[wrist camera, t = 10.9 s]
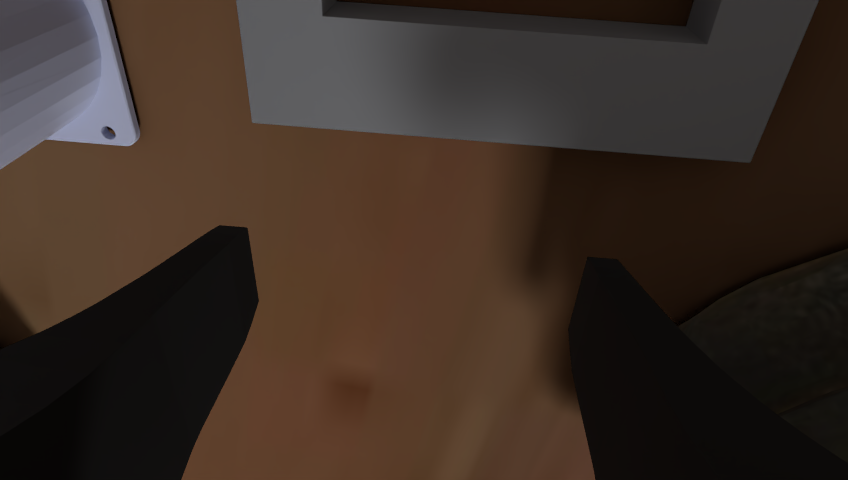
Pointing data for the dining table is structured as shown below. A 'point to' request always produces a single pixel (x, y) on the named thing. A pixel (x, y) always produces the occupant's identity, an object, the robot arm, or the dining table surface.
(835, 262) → the vessel
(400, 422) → the dining table surface
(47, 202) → the dining table surface
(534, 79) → the holder plate
